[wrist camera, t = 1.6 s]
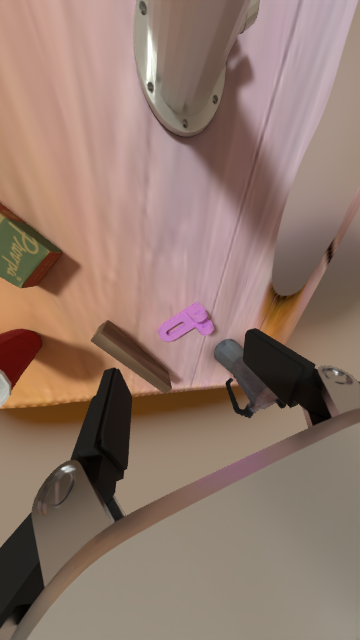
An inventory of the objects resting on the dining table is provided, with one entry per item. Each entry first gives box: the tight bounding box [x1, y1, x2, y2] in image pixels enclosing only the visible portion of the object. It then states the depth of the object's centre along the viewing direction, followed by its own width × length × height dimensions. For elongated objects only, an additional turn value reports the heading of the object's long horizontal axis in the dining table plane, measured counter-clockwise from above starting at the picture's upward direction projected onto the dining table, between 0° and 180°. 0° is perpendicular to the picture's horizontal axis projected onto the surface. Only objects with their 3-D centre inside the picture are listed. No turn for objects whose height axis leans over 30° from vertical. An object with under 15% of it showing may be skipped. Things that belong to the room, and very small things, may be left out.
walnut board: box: [91, 320, 172, 394], centre depth 34 cm, size 2×24×6 cm, turn 33°
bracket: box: [159, 302, 214, 342], centre depth 33 cm, size 13×6×7 cm, turn 120°
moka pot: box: [214, 339, 286, 418], centre depth 36 cm, size 10×15×20 cm, turn 131°
